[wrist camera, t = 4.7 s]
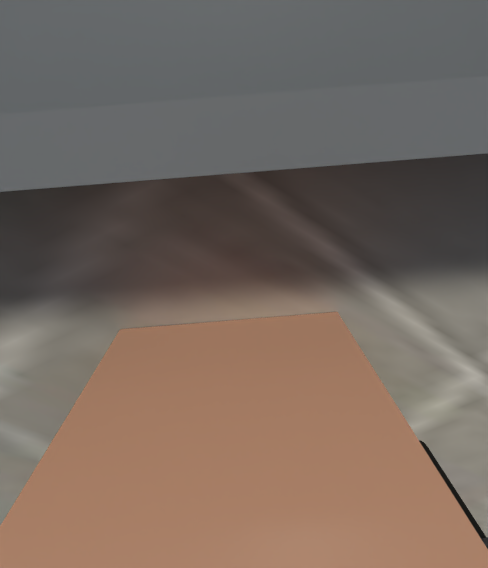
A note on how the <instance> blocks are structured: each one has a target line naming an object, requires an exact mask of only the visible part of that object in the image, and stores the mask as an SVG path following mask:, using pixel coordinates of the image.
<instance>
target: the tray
mask: <svg viewBox="0 0 488 568" xmlns="http://www.w3.org/2000/svg"><path fill="white" fill-rule="evenodd" d="M486 153H488V0H0V192H5V191H18V190H30V189H43V188H56V187H68V186H81V185H94V184H106V183H119V182H132V181H144V180H157V179H170V178H182V177H195V176H208V175H220V174H233V173H246V172H258V171H271V170H284V169H296V168H309V167H322V166H334V165H347V164H360V163H372V162H385V161H398V160H410V159H423V158H436V157H448V156H461V155H474V154H486Z"/></svg>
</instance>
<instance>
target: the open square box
mask: <svg viewBox="0 0 488 568" xmlns="http://www.w3.org/2000/svg"><path fill="white" fill-rule="evenodd" d="M0 568H488V549H487V547H486V546H485V544H484V543H483V541H482V540H481V538H480V536H479V535H478V533H477V532H476V530H475V529H474V527H473V525H472V524H471V522H470V521H469V519H468V517H467V516H466V514H465V513H464V511H463V510H462V508H461V506H460V505H459V503H458V502H457V500H456V499H455V497H454V495H453V494H452V492H451V491H450V489H449V487H448V486H447V484H446V483H445V481H444V480H443V478H442V476H441V475H440V473H439V472H438V470H437V469H436V467H435V465H434V464H433V462H432V461H431V459H430V457H429V456H428V454H427V453H426V451H425V450H424V448H423V446H422V445H421V443H420V442H419V440H418V439H417V437H416V435H415V434H414V432H413V431H412V429H411V428H410V426H409V424H408V423H407V421H406V420H405V418H404V416H403V415H402V413H401V412H400V410H399V409H398V407H397V405H396V404H395V402H394V401H393V399H392V398H391V396H390V394H389V393H388V391H387V390H386V388H385V386H384V385H383V383H382V382H381V380H380V379H379V377H378V375H377V374H376V372H375V371H374V369H373V368H372V366H371V364H370V363H369V361H368V360H367V358H366V356H365V355H364V353H363V352H362V350H361V349H360V347H359V345H358V344H357V342H356V341H355V339H354V338H353V336H352V334H351V333H350V331H349V330H348V328H347V326H346V325H345V323H344V322H343V320H342V319H341V317H340V315H339V314H338V312H329V313H316V314H304V315H292V316H279V317H267V318H255V319H242V320H230V321H218V322H205V323H193V324H181V325H168V326H156V327H143V328H131V329H120V330H119V332H118V334H117V335H116V337H115V339H114V340H113V342H112V343H111V345H110V347H109V348H108V350H107V352H106V353H105V355H104V357H103V358H102V360H101V362H100V363H99V365H98V366H97V368H96V370H95V371H94V373H93V375H92V376H91V378H90V380H89V381H88V383H87V385H86V386H85V388H84V389H83V391H82V393H81V394H80V396H79V398H78V399H77V401H76V403H75V404H74V406H73V408H72V409H71V411H70V412H69V414H68V416H67V417H66V419H65V421H64V422H63V424H62V426H61V427H60V429H59V431H58V432H57V434H56V435H55V437H54V439H53V440H52V442H51V444H50V445H49V447H48V449H47V450H46V452H45V454H44V455H43V457H42V458H41V460H40V462H39V463H38V465H37V467H36V468H35V470H34V472H33V473H32V475H31V477H30V478H29V480H28V481H27V483H26V485H25V486H24V488H23V490H22V491H21V493H20V495H19V496H18V498H17V500H16V501H15V503H14V504H13V506H12V508H11V509H10V511H9V513H8V514H7V516H6V518H5V519H4V521H3V522H2V524H1V526H0Z"/></svg>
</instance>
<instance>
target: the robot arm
mask: <svg viewBox="0 0 488 568" xmlns="http://www.w3.org/2000/svg"><path fill="white" fill-rule="evenodd" d="M419 442H420V443H421V445H422V446H423V448H424V450H425V451H426V453H427V454H428V456H429V457H430V459H431V461H432V462H433V464H434V465H435V467H436V469H437V470H438V472H439V473H440V475H441V476H442V478H443V480H444V481H445V483H446V484H447V486H448V487H449V489H450V491H451V492H452V494H453V495H454V497H455V499H456V500H457V502H458V503H459V505H460V506H461V508H462V510H463V511H464V513H465V514H466V516H467V517H468V519H469V521H470V522H471V524H472V525H473V527H474V529H475V530H476V532H477V533H478V535H479V536H480V538H481V540H482V541H483V543H484V544H485V546H486V547H487V549H488V538H486V536H485V535H484V533H483V531H482V530H481V528H480V527H479V525H478V524H477V522H476V521H475V519H474V518H473V516H472V515H471V513H470V511H469V510H468V508H467V507H466V505H465V504H464V502H463V501H462V499H461V498H460V496H459V495H458V493H457V491H456V490H455V488H454V487H453V485H452V484H451V482H450V481H449V479H448V478H447V476H446V474H445V473H444V471H443V470H442V468H441V467H440V465H439V464H438V462H437V461H436V459H435V458H434V456H433V454H432V453H431V451H430V450H429V448H428V447H427V446H426V444H425V443H424V442H422V441H419Z"/></svg>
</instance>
